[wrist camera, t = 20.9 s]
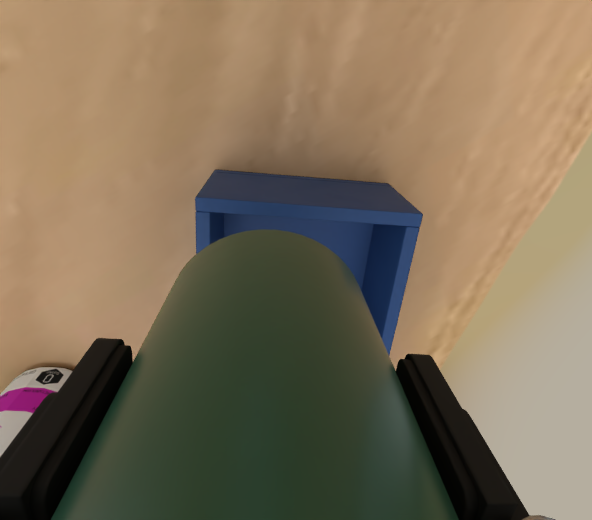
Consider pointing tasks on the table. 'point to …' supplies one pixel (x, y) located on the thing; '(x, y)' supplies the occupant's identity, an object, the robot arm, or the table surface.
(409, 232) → the blue storage box
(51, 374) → the supplement can
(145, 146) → the table surface
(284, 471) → the green can
